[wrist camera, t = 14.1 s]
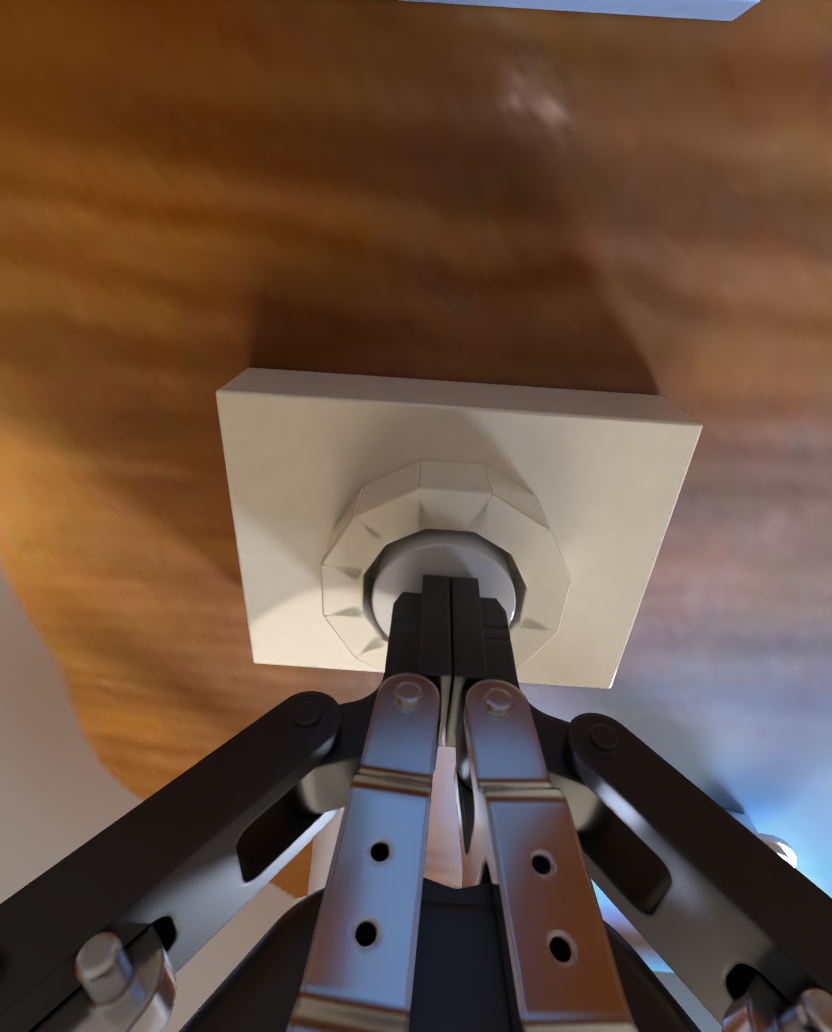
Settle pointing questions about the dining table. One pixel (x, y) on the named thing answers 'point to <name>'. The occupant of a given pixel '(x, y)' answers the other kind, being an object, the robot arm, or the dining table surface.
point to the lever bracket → (628, 7)
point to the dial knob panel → (447, 507)
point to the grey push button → (440, 568)
